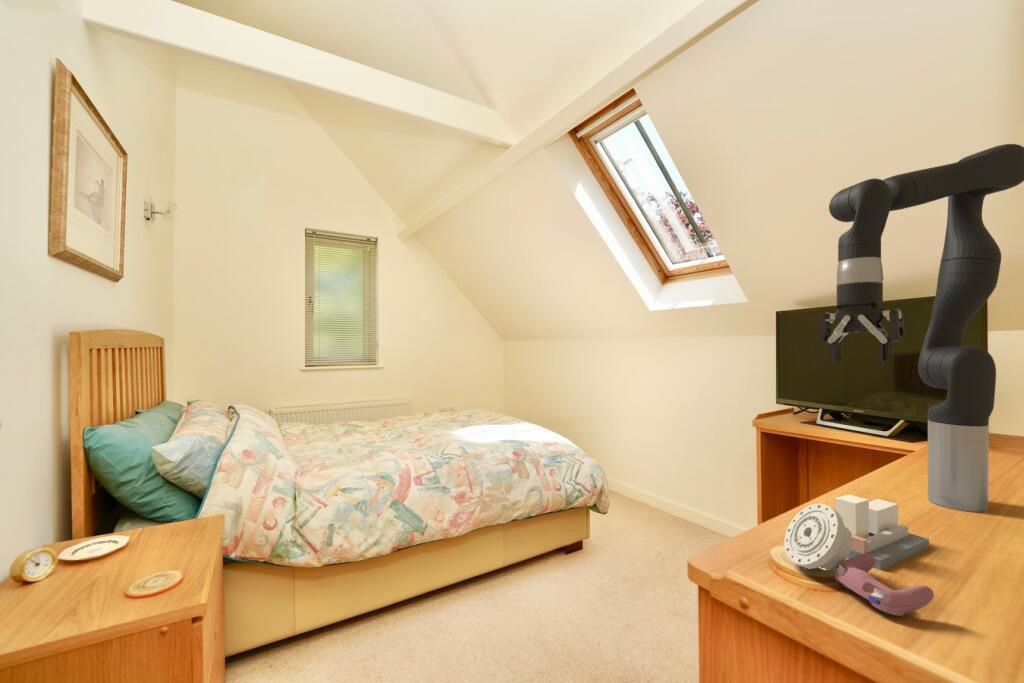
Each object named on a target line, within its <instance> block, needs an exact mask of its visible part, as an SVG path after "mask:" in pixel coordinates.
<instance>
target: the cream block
mask: <svg viewBox="0 0 1024 683" xmlns="http://www.w3.org/2000/svg"><path fill="white" fill-rule="evenodd" d="M897 526H899V504H898V503H895V502H892V501H891V502H890V501H887V500H883V499H880V498H876V499H873V500H871V501H870V500H869V535H871V536H873V535H876V534H878V533H881V532H884V531H886V530H889V529H892V528H894V527H897Z"/></svg>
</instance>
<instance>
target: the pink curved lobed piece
mask: <svg viewBox="0 0 1024 683" xmlns="http://www.w3.org/2000/svg"><path fill="white" fill-rule="evenodd" d="M875 563H876V560H875V558H874V557H873V556H872V555H870V554H860V555H857V556H855V557H853V558H851V559H849V558H847V559H846V560H844V561H841V562H840V563H839V564H838V566H837V567H836V569H835V570H834V574H835V578H834V579H835V580H836V581H837V582H839V583H840V584H842V586H843V587H844V588H846V589H848V590H851V591H853V592H854V593H855V594H857V595H859V596H861V597H862V598H864V599H866V600H868V601H869V603H870V604H871V606H873V607H874V608H876V609H878V610H880V611H882V612H884V613H886V614H888V615H893V616H901V617H902V616H904V615H905V614H906V613H907V614H908V613H910V612H914V611H919V610H920V609H922V608H924V607H926V606H927V605H929V604H930V603H931V602H932V601H933V599H934V597H935V595H934V591H933V589H932V588H931V587H929V586H927V585H924V584H923V585H920V584H919V585H914V586H911V587H908V588H904V589H899V590H898V589H897V590H895V589H893V588H891V587H889V586H887V585H886V584H883V583H882V582H881V581H878V580H877V579H876V578H875V577H874V576H873V575H871V574H870V573H869V572H870V571H871V570H872V569H873V567H874V565H875Z"/></svg>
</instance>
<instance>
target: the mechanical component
mask: <svg viewBox="0 0 1024 683" xmlns="http://www.w3.org/2000/svg"><path fill="white" fill-rule="evenodd" d="M853 540H854V538H853V537H852V533H851V532H850V531H849V529H848V528H846V527H845V526H844V523H843V519H842V517H841V516H840V514H839V513H838V512H837V511H836V510H835V508H833V507H831V506H830V505H827V504H826V503H814V504H813V503H812V504H810V505H807V506H805V507H803V509H800V511H799V512H798V513H796V514H795V516H794V517H793V518H792V520H791V521H790V522H789V525H788V526H787V528H786V532H785V536H784V540H783V546H784V551H785V554H786V557H787V558H788V559H789V561H791V562H793V564H795V563H796V565H797V566H799V567H800V566H802V567H805V568H804V569H806V568H808V569H807V570H811V569H816V568H817V567H821V568H825V569H830V570H829V571H832V570H833V571H835V569H836V567H837V566H838V564H839V563H840V562H841V561H844V560H848V558H847V557H848V555H849V554H850V553H852V552H853V549H851V548H852V541H853ZM802 567H801V568H802ZM817 569H818V568H817Z"/></svg>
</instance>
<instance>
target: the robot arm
mask: <svg viewBox="0 0 1024 683" xmlns="http://www.w3.org/2000/svg"><path fill="white" fill-rule="evenodd" d="M1023 182H1024V146H1023V145H1020V144H1017V143H1005V144H999V145H996V146H993V147H991V148H988V149H984V150H981V151H978V152H974V153H973V154H971V155H968V156H965V157H962V158H961V159H959V160H958V161H957V162H952V163H949V164H943V165H938V166H934V167H933V166H932V167H929V168H923V169H918V170H914V171H913V170H912V171H909V172H904V173H899V174H895V175H892V176H890V177H886V178H884V179H880V178H877V177H876V178H869V179H865V180H863V181H861V182H858V183H856V184H853V185H851V186H847V187H846V188H843V189H841V190H839V191H838V192H837V193H835V194H834V195H833V196H832V198H831V199H830V202H829V205H828V212H829V213H830V215H831V216H832V218H833V219H835V220H836V221H838V222H842V223H852V226H851V227H850V229H848V230H846V231H845V232H844V233H842V234H841V235H840V236H839V238H838V244H837V248H838V249H837V268H836V269H837V270H836V308H837V309H836V312H835V313H831V312H821V313H820V315H819V327H818V328H819V330H818V340H819V341H823V342H826V343H827V344H828V357H829V358H828V359H831V362H834V363H835V362H838V363H840V362H841V360H842V358H841V356H842V354H841V353H842V352H841V351H842V350H841V348H842V346H841V343H840V342H841V341H842V340H843V339H844V337H845V336H847V335H849V333H870V334H871V335H873V336H875V338H876V339H877V340H878V341H879V342H880V343H878V363H879V364H889V361H892V358H893V344H894V343H896V342H899V341H904V340H905V338H906V337H905V325H904V324H905V322H904V311H903V310H902V309H900V308H899V309H898V308H892V309H889V310H884V309H883V303H884V296H883V293H884V290H883V289H884V285H883V284H884V282H883V281H884V278H885V277H884V270H883V264H882V263H883V262H882V237H883V233H884V230H885V227H886V224H887V221H888V219H889V215H890V212H893V211H900V210H904V209H909V208H913V207H918V206H920V205H924V204H928V203H931V202H934V201H937V200H940V199H943V198H947V200H948V201H947V216H946V217H947V218H946V230H945V236H944V243H943V248H942V254H941V259H940V264H939V269H938V276H937V281H936V282H937V283H936V290H935V291H936V292H935V296H934V301H933V305H932V310H931V316H930V321H929V323H928V324H929V325H928V328H927V331H926V333H925V337H924V340H923V343H922V347H921V351H920V354H919V357H918V362H917V369H918V370H917V371H918V374H919V378H920V379H921V381H922V382H923V384H925V385H927V386H929V387H932V388H934V389H941V390H942V389H943V390H944V389H945V390H947V395H946V399H945V400H944V401H943V402H942V403H939V404H936V405H932V406H930V407H929V408H928V410H927V501H929V502H930V503H933V504H935V505H938V506H941V507H945V508H948V509H952V510H957V511H965V512H973V513H977V512H978V513H983V512H988V511H989V490H990V489H989V488H990V487H989V483H990V481H989V475H990V474H989V472H990V471H989V470H990V469H989V461H990V460H989V458H990V457H989V455H990V454H989V452H990V451H989V444H990V442H989V421H990V417H991V415H992V413H993V411H994V406H995V394H996V383H997V382H996V381H997V367H996V362H995V360H994V358H993V356H992V355H991V354H990V352H989V351H987V350H986V349H985V348H983V347H982V348H981V347H978V346H967V345H966V346H963V341H964V335H965V332H966V329H967V327H968V325H969V323H970V322H971V320H972V319H973V317H974V316H975V315H976V314H977V313H978V311H979V310H980V309H981V308H982V307H983V306H984V304H985V303H987V300H989V298H990V297H991V295H992V294H993V293H994V291H995V289H996V288H997V284H998V281H999V276H1000V271H1001V270H1000V269H1001V264H1002V263H1001V262H1002V252H1001V249H1000V247H999V245H998V243H997V242H996V240H995V238H994V237H993V236H992V235H991V233H990V232H989V230H988V229H987V227H986V226H985V224H984V220H983V206H984V200H985V197H986V196H988V195H991V194H996V193H1000V192H1002V191H1003V192H1004V191H1006V190H1009V189H1012V188H1015V187H1017V186H1019V185H1020V184H1022V183H1023ZM884 318H886V320H887V321H889V329H890V330H889V331H890V334H889V333H888V331H887V330H886V328H885V327H884V326H883V325H882V323H881V322H882V321H883V319H884ZM835 320H836V321H837V322H838V325H836V327H835V328H834V330H833V332H832V328H833V326H832V325H833V323H835Z"/></svg>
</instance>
